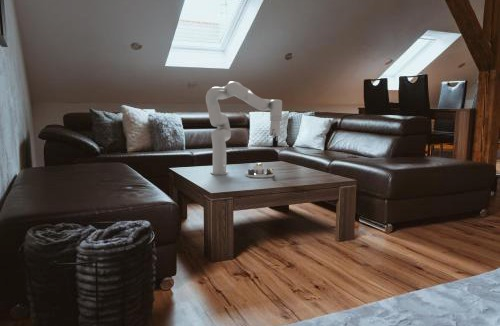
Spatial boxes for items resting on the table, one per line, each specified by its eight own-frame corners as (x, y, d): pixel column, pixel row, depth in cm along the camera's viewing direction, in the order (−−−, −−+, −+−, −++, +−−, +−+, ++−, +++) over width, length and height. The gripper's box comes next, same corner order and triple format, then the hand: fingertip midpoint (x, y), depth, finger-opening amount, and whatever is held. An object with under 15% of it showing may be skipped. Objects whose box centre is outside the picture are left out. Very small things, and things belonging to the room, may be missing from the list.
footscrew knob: (266, 173, 277) (266, 167, 276) (272, 173, 277) (272, 167, 277) (268, 176, 263) (268, 171, 263) (275, 176, 264) (275, 171, 263)
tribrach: (242, 173, 285) (242, 160, 284) (269, 172, 289) (269, 160, 288) (248, 178, 266) (248, 165, 264) (277, 177, 270) (277, 164, 268)
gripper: (273, 118, 272) (272, 145, 275) (267, 118, 258) (266, 147, 261) (284, 118, 270) (283, 145, 272) (278, 119, 256) (277, 148, 258)
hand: (275, 146), depth 267 cm, fingers closed
